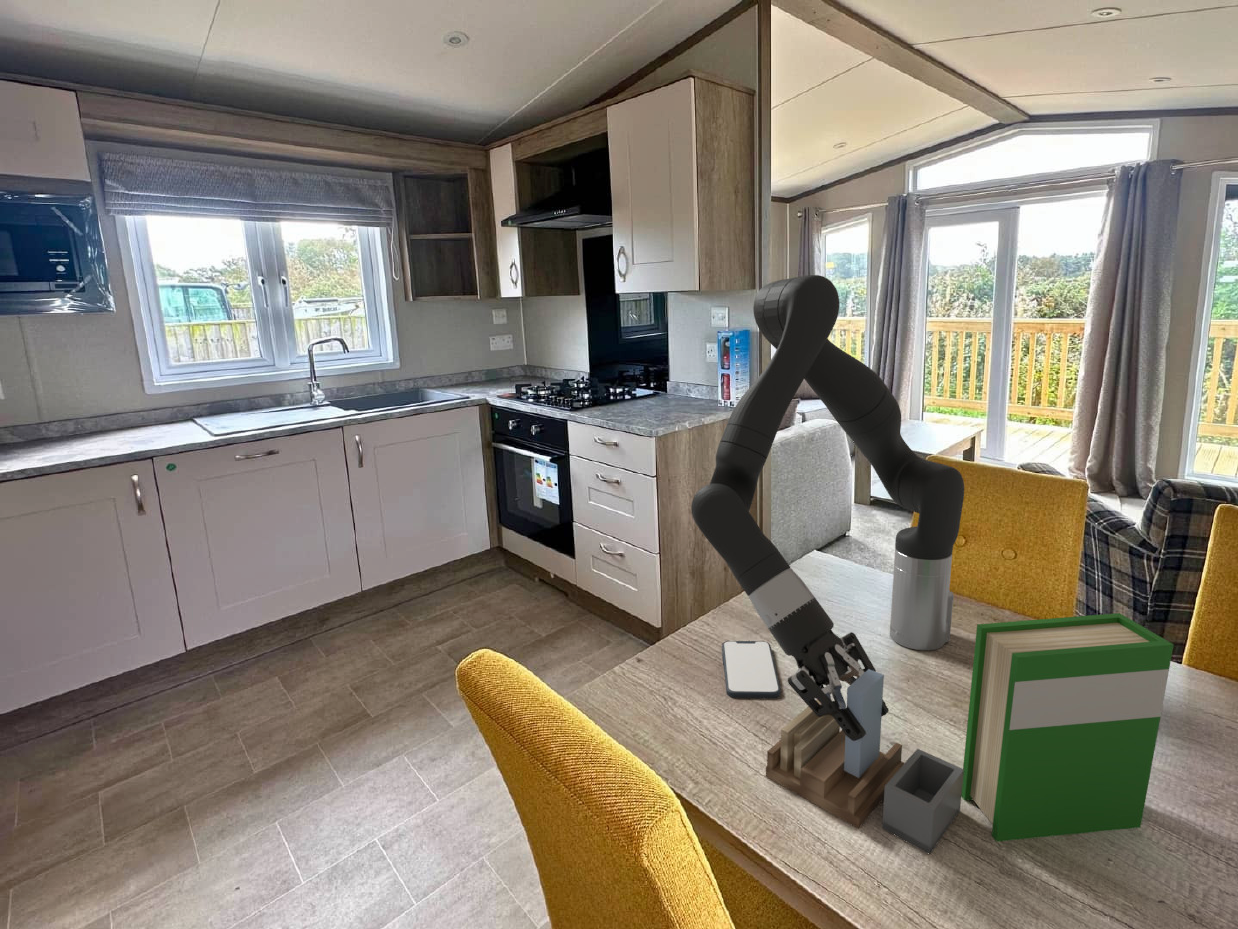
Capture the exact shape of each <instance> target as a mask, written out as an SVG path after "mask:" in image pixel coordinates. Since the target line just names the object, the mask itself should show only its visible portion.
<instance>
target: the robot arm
mask: <svg viewBox="0 0 1238 929" xmlns="http://www.w3.org/2000/svg"><path fill="white" fill-rule="evenodd" d="M839 296H840V295H839V292H838V290H837V288H836V286H835V285H834V282H832V281H831V280H830V279H828V278H827V277H826V276H823V275H819V274H810V275H808V274H807V275H801V276H797V277H792V278H785V279H779V280H776V281H772V282H770V283H767V284H765V285H764V286H763V287H761V288H760V289H759V290H758V292H756V294H755V298H754V301H753V308H752V309H753V316H754V317H753V318H754V320H755V324H756V325H757V328H758V330H759V331H760V334H761V335H762V336H763V337H764V338H765V339H766V340H767V342H769V343H770V344H771V345H772V347H773V348H774V349H775V352H774V353H773V355H772V358H771V359H770V360H769V362H768V363H767V365H766V367H765V368H764V370H762V372H761V373H760V375H759V376H758V377H757V378H756V380H754V382H753V383H752V384H751V386H749V388H748V389H747V390H746V391H745V392H744V394H743V396H742V397H741V398H740V399H739V401H738V402H737V404H736V405H735V406H734V409H733V410H732V412H731V414H730V417H729V418H728V421H727V423H726V426H725V428H724V430H723V433H722V436H721V438H720V442H719V443H718V446H717V450H716V453H715V468H714V470H713V473H712V476H711V479H710V482H709V484H707V485H704V486H702V487H701V488H700V489H699V490H698V491H697V492H696V493H695V494H694V496H693V498H692V501H691V508H690V509H691V515H692V516H691V517H692V519H693V521H694V523H695V525H696V526H697V528H698V529H699V530H700V532H701V533H702V534H703V536H704V537H705V538H706V539H707V541H708V542H709V543H710V545H711V546H712V548H714V550H715V551H716V552H717V554H718V555H719V556H720V557H721V558H722V559H723V560H724V561H725V563H726V565H727V566H728V568H729V569H730V571H731V573H732V575H733V576H734V578H735V580H736V581H737V582H738V584H739V585H740V587H741V588H742V590H743V591H744V593H745V594H746V596H747V597H748V599H749V601H750V602H751V604H752V605H753V608H754V610H755V612H756V613H757V615H758V616H759V618H760V619H761V621H762V622H763V623H764V625H765V627H766V628H767V629H768V631H769V632H770V634H771V635H772V636H773V638H774V639H775V641H776V642H777V644H778V645H779V647H780V648H781V649H782V651H783V652H784V654H785V655H786V656H792V657H793V658H794V660H795V662H796V665H797V670H796V672H795V673H794V674H792V675H791V676H789V677H788V678H787V683H788V685H789V686H790V687H791V688H792V689H793V690H794V691H795V692H796V694H797V695H798V696H799V697H800V699H802V701H803V702H805V704H806V705H807V707H808V706H809V707H810V708H811V710H812V711H813V712H814V713H815V714H816V715H817V716H818V717H822V716H825V715H831V716H833V717H834V719H835V720H836V722H837V723H838V725H839V726H840V729H841V730H843V731H844V733H845V735H846V736H847V737H848V738H849V739H851V740H852V741H856V740H858V739H861V738H863V737H864V736H865V735H866V731H865V730H864V728H863V727H862V726H861V725H860V723H859V722H858V720H857V719H856V717H855V716H854V715H853V713H852V712H851V710H850V709H849V707H847V703H846V702H845V698H844V696H843V693H842V688H843V685H842V683H841V682H845V683H847V684H848V685H849V686H850V685H851V684H852V683H853V682H855V681H856V680H857V679H858V678H859V677H860V676H861V675H863V674H864V673H865V672H866V671H867V670H868V669H870V670H872V671H875V672H877V670H876V668H875V667H874V663H872V661H871V659H870V658H869V656H868V654H867V652H866V651H865V649H864V647H863V645H862V643H861V642H860V641H859V639H858V637H857V635H856V633H854V632H848V633H847V634H845V635H843V636H841V637H839V636H838V635H836V634H835V633H834V632H833V630H832V629H834V625H835V623H834V621H833V620H832V618H830V616H829V615H828V613H827V611H826V610H825V609H824V608H823V606H822V605H821V603H820V602H819V601H818V600H817V598H816V597H815V596H814V594H813V593H812V592H811V590H810V589H809V587H808V586H807V584H806V583H805V582H804V580H802V578H801V577H800V576H799V575H798V574H797V573H796V572H795V571H794V570H793V569H792V568H791V566H790V564H789V562H788V561H787V560H786V558H785V557H784V556H783V555H782V553H781V552H780V550H779V549H778V548H777V547H776V544H775V545H774V543H773V542H772V541H771V540H770V539H769V538H768V537H767V536H766V535H765V534H764V532H763V531H762V530H761V528H760V526H759V524H758V523H757V521H756V520H755V518H754V517H753V515H752V514H751V513H750V510H751V507H752V503H753V499H754V496H755V493H756V489H757V485H758V482H759V481H758V480H759V478H760V475H761V473H762V470H763V468H764V466H765V464H766V462H767V459H768V456H769V455H770V453H771V450H772V447H773V444H774V442H775V439H776V435H777V433H778V430H779V429H780V426H781V423H782V422H783V419H784V417H785V415H786V413H787V411H788V408H790V405H791V403H792V401H793V399H794V397H795V396H796V393H797V392H798V391H799V388H800V387H801V385H802V383H803V381H804V380H805V382H806V383H807V385H808V386H809V387H810V388H811V390H812V391H813V393H814V394H816V396H817V397H818V398H819V400H820V401H821V402H822V403H823V404H824V406H825V407H826V409H827V410H828V411H829V413H830V414H831V416H832V417H833V418H834V420H835V421H836V422H837V424H838V425H839V426H840V428H842V430H843V432H845V434H846V435H847V436H848V437H849V438H850V440H851V441H852V442H853V443H854V444H855V446H856V447H857V448H858V450H859V451H860V453H861V454H862V455H863V456H864V457H865V458H866V459H867V461H868V462H869V464H870V465H871V466H872V468H873V470H874V471H875V473H876V475H877V477H878V479H879V480H880V481H881V482H880V483H881V484H882V486H883V487H884V489H885V490H886V492H887V494H888V495H889V497H890V498H891V500H893V502H894V503H895V504H896V505H898V506H900V507H901V508H903V509H906V510H908V511H911V512H914V513H915V514H916V513H917V514H919V515H918V521H917V525H916V526H912V527H911V526H910V527H905V528H902V529H901V530H899V531H898V532H897V533H896V536H895V541H894V542H895V545H894V561H893V574H892V575H893V577H892V578H893V579H892V594H891V605H890V606H891V608H890V610H891V611H890V624H889V636H890V638H891V640H893V641H894V642H895V643H897V644H898V645H900V646H902V647H905V648H908V649H913V650H916V651H935V650H938V649H941V648H942V647H944V646H945V644H946V643H949V642H950V640H951V632H952V631H951V630H952V619H953V605H954V596H955V595H954V592H953V591H951V590H950V585H951V575H952V574H951V571H952V560H953V551H954V550H953V549H954V545H955V543H956V541H957V538H958V536H959V532H960V525H961V518H962V512H963V506H964V498H965V481H964V478H963V476H962V473H961V472H960V470H958V469H956V468H955V467H953V466H949V465H947V464H942V463H939V462H935V461H931V460H928V459H924V458H922V457H920V456H919V455H917V454H916V453H915V451H913V450H912V449H911V448H910V446H909V445H908V444H907V443H906V441H905V440H904V438H903V436H902V433H901V428H902V411H901V408H900V405H899V402H898V400H897V399H896V398H895V396H894V395H893V393H892V392H891V390H890V389H889V387H888V386H887V385H886V383H885V382H884V380H883V379H882V378H881V377H880V376H879V374H877V373H876V371H874V370H873V369H872V368H870V367H869V366H868V365H867V364H865V363H864V362H862V361H860V360H859V359H857V358H856V357H853V355H850V354H849V353H847V352H846V351H844V350H842V349H841V348H840V347H838V346H837V345H835V344H834V343H833V342H831V341H830V339H829V337H830V335H831V333H832V331H833V329H834V327H835V324H836V323H837V320H838V317H839V312H840V297H839ZM859 660H860V662H861V664H862V666H863V667H864V668H863V669H862V667H861V664H860V663H859ZM855 677H856V678H855ZM831 695H832V696H831ZM830 696H831V697H830ZM832 698H833V700H832ZM817 699H818V701H819V702H820V703H821V704H822V705H820V704H819V703H818V702H817V701H816V700H817ZM888 713H889V708H888V706H887V704H886V702H885V701H884V699H882V713H881V718H882V717H884V716H886V715H887V714H888Z"/></svg>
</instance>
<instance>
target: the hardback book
mask: <svg viewBox="0 0 1238 929" xmlns="http://www.w3.org/2000/svg"><path fill="white" fill-rule="evenodd" d="M974 643H975V644H974V654H973V663H972V675H971V684H970V691H969V693H970V695H969V704H968V714H967V726H966V734H965V735H966V736H965V743H964V745H965V746H964V757H963V764H962V765H963V766H962V769H964V775H963V785H962V795H961V799H963V800H964V801H965V802H967V801H974V802H975V804H976V805H977V807H978V808H979V809H980V810H981V811H982V813H983V814H984V815H985V817H987V819H988V820H989V822H990V823H991V824H992V828H991V836H992V838H993V840H995V842H997V843H998V842H1006V841H1007V842H1008V841H1016V840H1026V839H1027V840H1028V839H1033V838H1034V839H1035V838H1036V839H1037V838H1048V837H1056V836H1058V837H1059V836H1068V835H1079V834H1087V833H1098V832H1099V833H1100V832H1108V831H1110V832H1111V831H1116V830H1117V831H1118V830H1128V829H1129V830H1130V829H1139V828H1141V826H1142V822H1143V816H1144V809H1145V805H1146V800H1147V793H1148V789H1149V783H1150V782H1149V781H1150V776H1151V771H1152V766H1153V760H1154V755H1155V750H1156V745H1157V738H1158V734H1159V729H1160V728H1159V727H1160V722H1161V716H1162V710H1163V706H1164V701H1165V694H1166V690H1167V689H1166V687H1167V684H1168V677H1169V672H1170V667H1171V666H1170V665H1171V660H1172V656H1173V650H1174V644H1173V643H1172V642H1170V641H1168V640H1167V639H1165V638H1163V637H1161V636H1160V635H1159V634H1156V633H1155V632H1153V631H1151V630H1149V629H1148V628H1146V627H1145V626H1143V625H1141V624H1140V623H1137V622H1135V621H1134V620H1132V619H1131V618H1129V617H1127V616H1125V615H1124V614H1122V613H1120V612H1116V613H1115V612H1114V613H1104V614H1092V615H1079V616H1068V617H1067V616H1066V617H1064V616H1063V617H1053V618H1041V619H1028V620H1016V621H1004V622H1002V621H1001V622H991V623H978V624H976V633H975V642H974Z"/></svg>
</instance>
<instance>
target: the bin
mask: <svg viewBox="0 0 1238 929" xmlns="http://www.w3.org/2000/svg"><path fill="white" fill-rule="evenodd" d="M963 775H964V769H963V767H960V766H957V765H956V764H953V763H951V762H950V761H949V762H948V761H946V760H944V759H942V758H940V757H937V756H936V755H932V754H931V753H928V752H926V751H924V750H922V749H919V748H916V750H915V751H914V752H913V753H912V754H911V755H910V756H909V758H908V759H907V760H906V761H905V762H904V765H903V766H902V767H901V768H900V769H899V770H898V772H897V773H896V774H895V775H894V776H893V777H892V779H891V780H890V781H889V782H888V783H887V784H886V785H885V792H884V799H883V809H882V811H883V812H882V825H881V826H882V827H881V828H883V829H882V830H885V831H887V832H888V833H890V834H892V835H893V834H895V835H896V836H895V835H894V836H895V837H897V836H898V837H897V838H898V839H901V840H902V841H904V840H905V841H904V842H906V841H907V842H906V843H908V844H909V845H912V846H913V847H915V848H917V849H919V850H920V851H923V852H924V853H926V854H928V853H929V854H928V855H931V853H932V852H933V850H934V849H935V847H936V846H937V845H938V843H939V841H941V839H942V837H943V836H944V834H945V833H946V831H947V830H948V829H949V827H950V826H951V824H952V823H953V821H955V819H956V817H957V816H958V814H959V813H960V812H961V804H962V797H961V795H962V785H963Z"/></svg>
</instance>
